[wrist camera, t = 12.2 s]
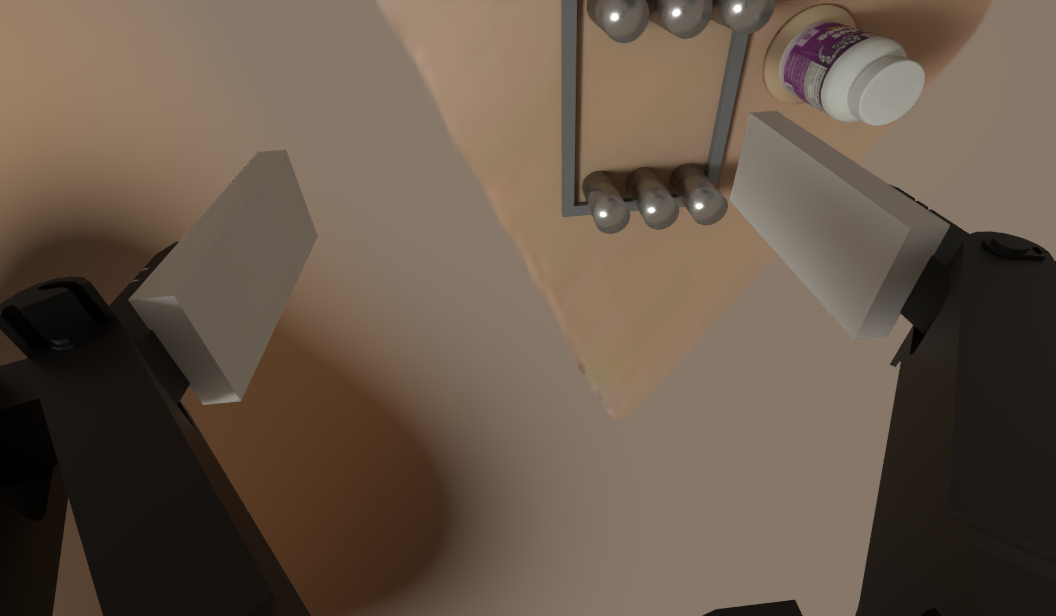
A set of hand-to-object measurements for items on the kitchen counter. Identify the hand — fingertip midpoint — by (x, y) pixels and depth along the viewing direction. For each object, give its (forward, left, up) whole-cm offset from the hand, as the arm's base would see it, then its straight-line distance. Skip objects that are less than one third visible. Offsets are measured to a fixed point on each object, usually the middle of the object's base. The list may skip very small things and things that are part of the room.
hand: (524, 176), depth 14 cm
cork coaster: (+4, +25, -27) cm, 36 cm away
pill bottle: (+4, +24, -26) cm, 36 cm away
